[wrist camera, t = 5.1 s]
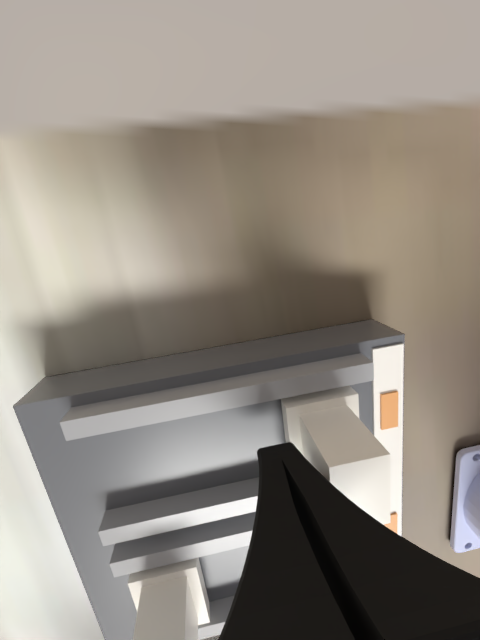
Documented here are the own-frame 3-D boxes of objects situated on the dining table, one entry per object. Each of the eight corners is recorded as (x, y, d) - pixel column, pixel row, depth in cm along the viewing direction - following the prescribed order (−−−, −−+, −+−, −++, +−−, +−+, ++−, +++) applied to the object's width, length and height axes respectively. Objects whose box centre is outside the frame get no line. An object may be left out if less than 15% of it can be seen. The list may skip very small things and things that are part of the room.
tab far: (196, 549, 14) (196, 652, 11) (209, 602, 15) (212, 714, 12) (131, 564, 14) (108, 676, 10) (148, 618, 15) (133, 736, 11)
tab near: (348, 384, 13) (405, 439, 9) (352, 454, 14) (404, 528, 10) (280, 398, 13) (312, 460, 9) (288, 468, 14) (320, 549, 10)
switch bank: (372, 319, 15) (420, 341, 12) (376, 529, 19) (413, 590, 16) (44, 377, 14) (-4, 421, 11) (119, 591, 18) (101, 673, 14)
